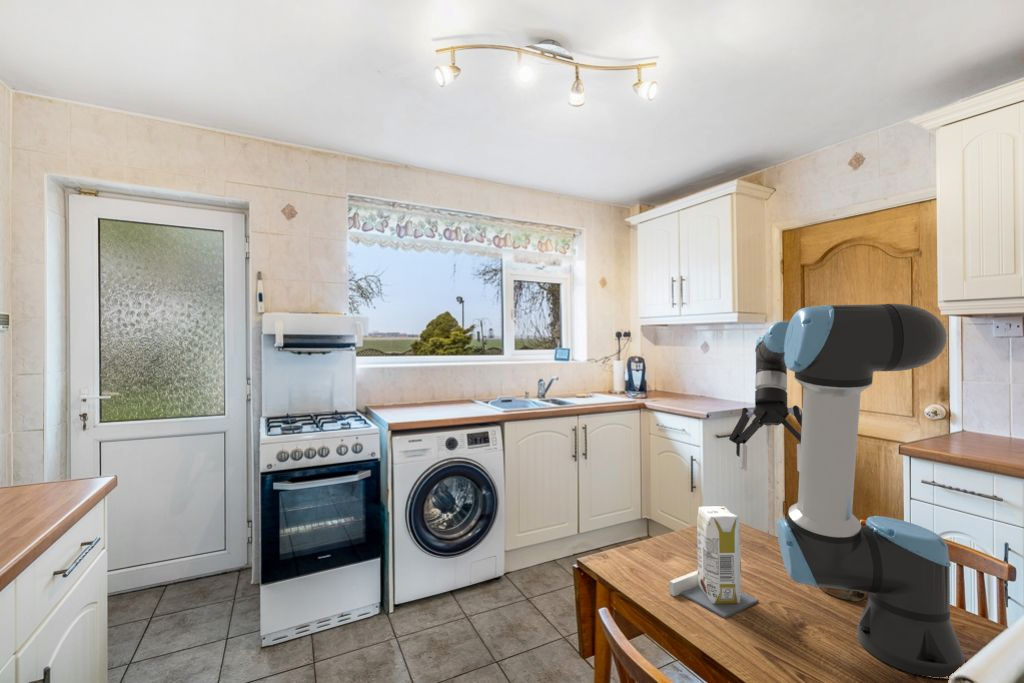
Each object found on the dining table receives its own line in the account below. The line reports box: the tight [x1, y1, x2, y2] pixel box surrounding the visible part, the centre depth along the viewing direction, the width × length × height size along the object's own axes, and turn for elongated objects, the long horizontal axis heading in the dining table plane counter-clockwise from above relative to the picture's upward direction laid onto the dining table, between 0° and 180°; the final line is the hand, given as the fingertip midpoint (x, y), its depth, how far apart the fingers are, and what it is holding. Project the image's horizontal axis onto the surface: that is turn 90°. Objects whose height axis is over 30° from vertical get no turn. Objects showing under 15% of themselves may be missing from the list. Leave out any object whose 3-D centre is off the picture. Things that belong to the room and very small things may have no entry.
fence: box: [668, 569, 699, 597], centre depth 112 cm, size 1×16×3 cm, turn 121°
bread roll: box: [819, 587, 868, 602], centre depth 109 cm, size 10×10×8 cm
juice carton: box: [696, 505, 742, 604], centre depth 106 cm, size 8×9×19 cm
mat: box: [680, 586, 759, 619], centre depth 106 cm, size 11×12×1 cm
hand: (770, 470), depth 118 cm, fingers open, 13 cm apart
